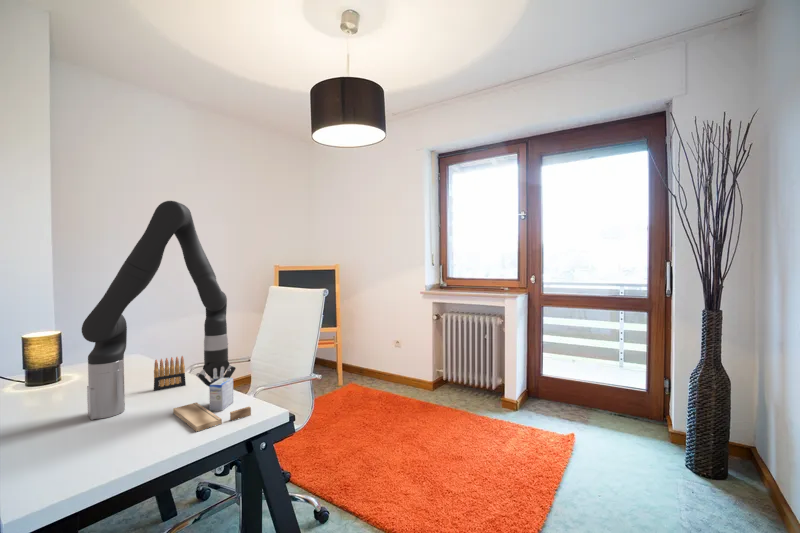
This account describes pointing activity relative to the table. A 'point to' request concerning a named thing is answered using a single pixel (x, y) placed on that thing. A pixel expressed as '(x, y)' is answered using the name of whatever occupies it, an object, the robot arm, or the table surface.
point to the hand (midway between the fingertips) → (217, 396)
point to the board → (197, 416)
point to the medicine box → (221, 394)
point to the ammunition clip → (171, 379)
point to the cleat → (240, 413)
